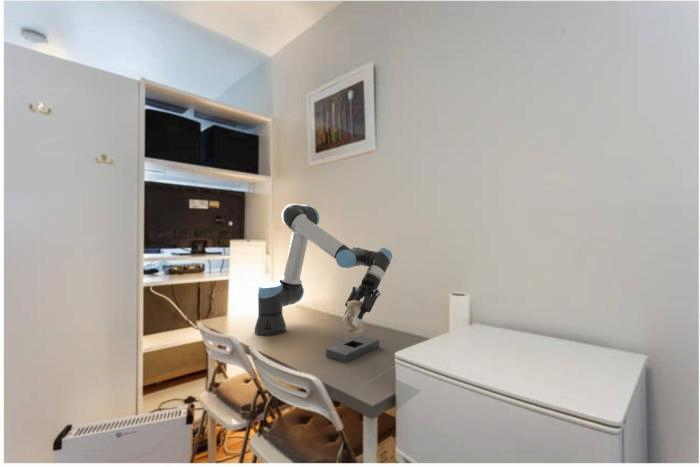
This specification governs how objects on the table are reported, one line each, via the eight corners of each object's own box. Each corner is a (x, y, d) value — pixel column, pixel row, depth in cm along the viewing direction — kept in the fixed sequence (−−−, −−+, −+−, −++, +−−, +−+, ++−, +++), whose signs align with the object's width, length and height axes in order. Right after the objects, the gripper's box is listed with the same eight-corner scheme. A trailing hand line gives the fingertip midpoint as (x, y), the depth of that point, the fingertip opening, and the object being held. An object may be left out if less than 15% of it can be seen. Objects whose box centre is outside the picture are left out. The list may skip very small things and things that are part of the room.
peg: (347, 331, 128) (347, 301, 128) (354, 329, 131) (354, 300, 132) (355, 333, 125) (355, 303, 125) (362, 330, 129) (362, 301, 129)
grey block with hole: (326, 356, 123) (326, 348, 123) (360, 342, 140) (360, 335, 140) (345, 363, 117) (345, 354, 117) (379, 347, 134) (379, 339, 134)
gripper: (393, 285, 135) (370, 333, 122) (360, 281, 146) (337, 325, 133) (386, 274, 131) (362, 322, 118) (353, 271, 142) (328, 315, 129)
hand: (349, 323), depth 125 cm, fingers closed on peg, 4 cm apart
